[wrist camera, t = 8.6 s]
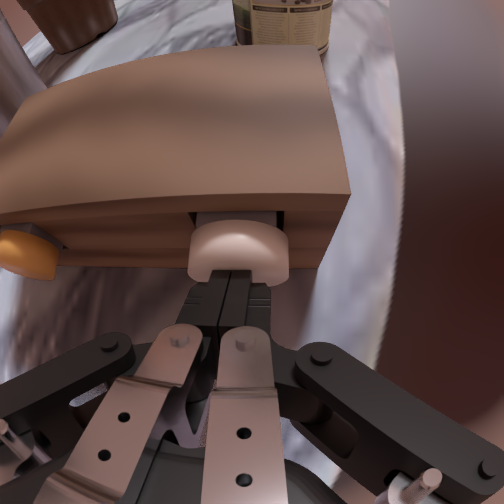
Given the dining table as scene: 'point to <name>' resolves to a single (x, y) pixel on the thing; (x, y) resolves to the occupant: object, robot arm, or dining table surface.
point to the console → (178, 155)
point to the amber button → (29, 251)
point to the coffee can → (283, 22)
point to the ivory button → (239, 246)
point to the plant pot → (71, 20)
